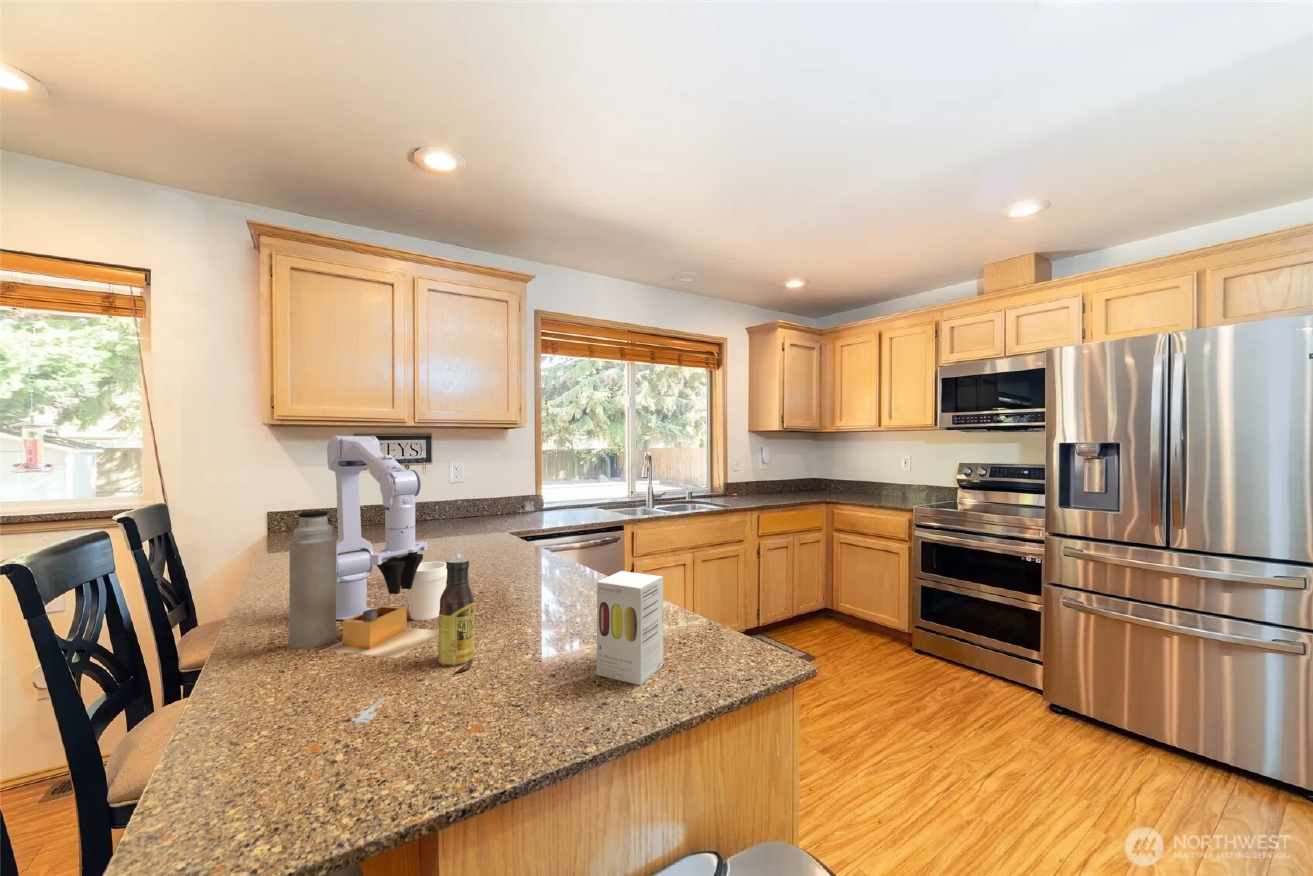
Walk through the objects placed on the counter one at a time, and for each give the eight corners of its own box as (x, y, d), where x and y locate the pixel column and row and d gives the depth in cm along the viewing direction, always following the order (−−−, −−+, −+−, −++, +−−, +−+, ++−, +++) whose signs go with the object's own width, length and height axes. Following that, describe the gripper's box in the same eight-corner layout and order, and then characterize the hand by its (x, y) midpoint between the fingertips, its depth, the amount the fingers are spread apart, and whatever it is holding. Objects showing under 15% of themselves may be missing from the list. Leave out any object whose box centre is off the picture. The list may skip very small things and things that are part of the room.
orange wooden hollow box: (381, 628, 110) (381, 605, 110) (406, 630, 108) (406, 607, 108) (342, 646, 100) (342, 621, 100) (369, 649, 98) (369, 623, 99)
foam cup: (456, 619, 120) (456, 564, 120) (420, 631, 112) (420, 573, 112) (431, 612, 125) (431, 560, 125) (395, 623, 117) (395, 567, 117)
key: (409, 687, 87) (390, 686, 87) (409, 681, 87) (390, 681, 87) (366, 726, 75) (344, 726, 75) (366, 720, 75) (345, 719, 75)
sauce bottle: (461, 676, 90) (461, 565, 90) (430, 673, 91) (430, 564, 91) (481, 661, 96) (481, 557, 96) (452, 658, 97) (452, 556, 98)
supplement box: (594, 675, 90) (594, 581, 90) (620, 656, 98) (620, 569, 98) (642, 686, 86) (641, 587, 86) (664, 665, 94) (664, 574, 94)
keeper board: (322, 657, 98) (322, 619, 98) (377, 631, 112) (377, 598, 112) (396, 666, 94) (396, 625, 94) (444, 638, 108) (444, 603, 108)
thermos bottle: (310, 639, 107) (310, 508, 108) (345, 640, 107) (345, 509, 107) (279, 655, 100) (279, 513, 100) (316, 656, 99) (316, 514, 99)
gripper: (391, 533, 99) (390, 602, 99) (439, 522, 113) (439, 583, 113) (361, 532, 101) (361, 600, 101) (412, 521, 115) (412, 581, 115)
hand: (400, 591), depth 107 cm, fingers open, 3 cm apart
